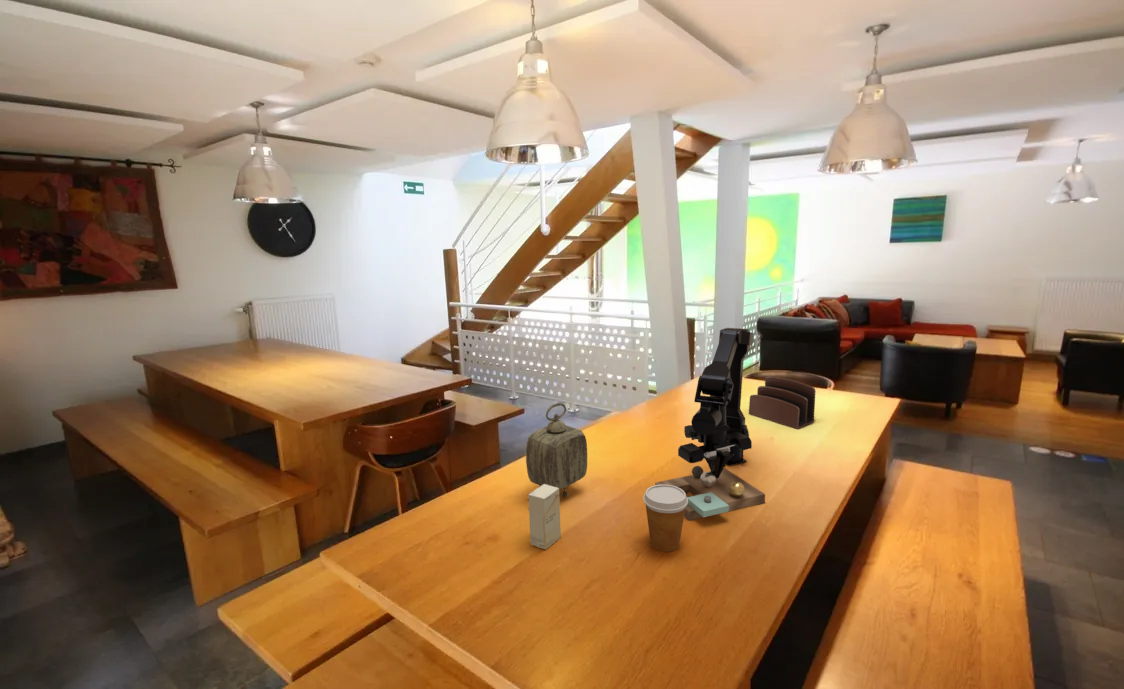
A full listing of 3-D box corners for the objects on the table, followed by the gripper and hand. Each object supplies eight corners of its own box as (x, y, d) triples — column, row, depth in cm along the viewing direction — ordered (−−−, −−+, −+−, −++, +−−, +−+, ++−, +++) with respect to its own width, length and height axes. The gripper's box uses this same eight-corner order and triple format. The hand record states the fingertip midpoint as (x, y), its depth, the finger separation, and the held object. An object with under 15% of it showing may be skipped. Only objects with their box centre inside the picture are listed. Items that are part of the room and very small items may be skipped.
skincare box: (545, 550, 115) (543, 499, 112) (529, 544, 117) (527, 494, 115) (561, 536, 120) (560, 487, 117) (545, 531, 122) (543, 482, 120)
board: (725, 476, 147) (725, 468, 146) (764, 502, 132) (765, 494, 131) (655, 490, 140) (655, 482, 139) (688, 520, 125) (689, 511, 124)
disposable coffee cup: (689, 535, 119) (690, 486, 116) (684, 560, 110) (685, 507, 108) (647, 528, 122) (647, 481, 120) (639, 552, 113) (639, 501, 111)
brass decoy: (738, 491, 133) (738, 478, 133) (747, 497, 130) (748, 484, 129) (726, 493, 132) (726, 480, 131) (735, 500, 129) (735, 486, 128)
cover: (711, 497, 130) (711, 488, 130) (728, 511, 124) (729, 501, 123) (686, 503, 128) (686, 493, 127) (703, 517, 122) (703, 507, 121)
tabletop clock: (566, 479, 147) (564, 394, 142) (590, 490, 141) (589, 401, 136) (527, 498, 138) (523, 407, 132) (551, 510, 131) (548, 415, 126)
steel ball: (712, 473, 139) (703, 465, 137) (722, 480, 135) (713, 472, 133) (703, 485, 138) (694, 477, 137) (712, 492, 135) (703, 484, 133)
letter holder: (764, 409, 200) (766, 373, 197) (814, 423, 184) (817, 385, 181) (748, 414, 195) (749, 378, 192) (797, 430, 179) (800, 390, 176)
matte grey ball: (699, 473, 144) (699, 463, 143) (705, 478, 141) (705, 467, 140) (689, 475, 143) (689, 465, 142) (695, 480, 140) (696, 469, 139)
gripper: (725, 405, 144) (726, 458, 147) (665, 418, 138) (667, 473, 141) (752, 417, 133) (753, 474, 137) (689, 432, 127) (691, 491, 131)
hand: (715, 477), depth 136 cm, fingers closed
